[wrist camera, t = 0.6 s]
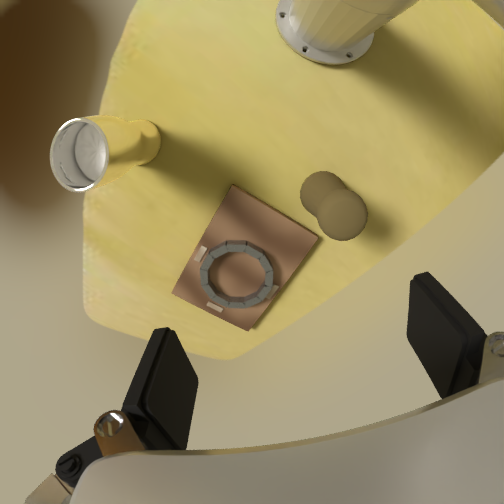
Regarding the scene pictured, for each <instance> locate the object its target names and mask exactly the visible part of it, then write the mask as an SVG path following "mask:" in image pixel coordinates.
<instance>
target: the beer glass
mask: <svg viewBox="0 0 504 504" xmlns="http://www.w3.org/2000/svg"><path fill="white" fill-rule="evenodd" d="M160 145H161V137H160V133H159V131H158V129H157V127H156V126H155V125H154V124H153V123H151V122H150V121H147V120H143V119H138V120H134V121H131V122H129V121H127V120H125V119H122V118H119V117H115V116H109V115H96V116H88V117H83V118H75V119H72V120H70V121H68V122H67V123H65V124H64V125H63V126H62V127H61V128H60V129H59V130H58V131H57V133H56V135H55V137H54V139H53V142H52V145H51V150H50V163H51V168H52V171H53V174H54V176H55V178H56V179H57V180H58V182H59V183H60V184H61V185H62V186H63V187H64V188H66V189H67V190H70V191H72V192H86V191H88V190H91V189H94V188H97V187H100V186H103V185H106V184H108V183H111V182H113V181H115V180H117V179H118V178H120V177H122V176H123V175H124V174H125V173H127V172H128V171H129V170H130V169H131V168H132V167H133V166H134V165H143V164H146V163H148V162H150V161H151V160H152V159H154V157H155V156H156V155H157V153H158V151H159V149H160Z"/></svg>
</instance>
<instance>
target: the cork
mask: <svg viewBox="0 0 504 504" xmlns="http://www.w3.org/2000/svg"><path fill="white" fill-rule="evenodd" d="M300 198H301V201H302V204H303V206H304V207H305V209H306V210H307V211H308V212H310V213H311V214H312V215H314V216H315V217H316V218H317V220H318V223H319V226H320V228H321V229H322V231H323V232H324V233H325V234H326V235H327V236H329V237H330V238H332V239H335V240H339V241H347V240H350V239H353V238H355V237H356V236H357V235H359V234H360V233H361V232H362V230H363V229H364V228H365V225H366V223H367V217H368V212H367V208H366V205H365V203H364V201H363V200H362V198H361V197H360V196H359V195H357V194H356V193H355V192H353V191H350V190H347V189H346V187H345V186H344V184H343V183H342V181H341V180H340V178H339V177H337V176H336V175H335V174H333V173H330V172H327V171H320V172H316V173H313V174H312V175H310V176H309V177H308V178H307V179H306V180H305V181H304V183H303V184H302V187H301V190H300Z"/></svg>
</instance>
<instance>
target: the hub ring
mask: <svg viewBox="0 0 504 504" xmlns="http://www.w3.org/2000/svg"><path fill="white" fill-rule="evenodd" d="M227 252H245V253H247V254H249V255H250V256H252V257H254V258H256V259H258V260H259V262H260V264H261V265H262V267H263V269H264V270H265V280H264V282H263V283H262V285H261V286H260V287H259V289H258V290H257V291H256V292H254V293H252V294H249V295H247V296H245V297H234V296H228V295H226V294H224V293H222V292H221V291H219V290H217V289H216V287H215V286H214V284H213V283H212V281H211V280H210V275H209V267H210V266H211V264H212V262H213V261H214V259H215V258H217V257H219V256H221V255H223V254H225V253H227ZM200 279H201V285H202V288H203V289H204V291H205V292H206V293H207V295H208V296H209V298H210V299H212V301H214V302H216V303H218V304H220V305H222V306H224V307H226V308H227V307H228V308H242V309H245V307H246V308H248V307H251V306H253V305H255V304H257V303H259V302H262V301H263V300H264V298H265V297H266V296H267V294H268V293H269V291H270V290H271V289H272V286H273V265H272V263H271V261H270V260H269V258H268V256H267V254H266V253H265V251H263V249H261V248H260V247H258V246H256V245H254V244H252V243H251V242H249V241H247V242H246V240H228V241H227V240H226V241H224V242H222V243H220V244H218V245H216V246H215V247H213V248H211V249H210V250H209V252H208V254H207V255H206V257H205V259H204V260H203V262H202V264H201V267H200Z"/></svg>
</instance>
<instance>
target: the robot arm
mask: <svg viewBox="0 0 504 504" xmlns="http://www.w3.org/2000/svg"><path fill="white" fill-rule="evenodd" d="M418 1H419V0H280V1H279V3H278V6H277V9H276V24H277V28H278V31H279V33H280V35H281V37H282V38H283V40H284V41H285V42H286V43H287V45H288V46H289V47H291V48H292V49H293V50H294V51H295V52H297V53H298V54H300V55H301V56H303V57H305V58H307V59H309V60H311V61H314V62H318V63H321V64H329V65H340V64H345V63H349V62H351V61H354V60H356V59H358V58H359V57H361V56H362V55H363V54H364V53H365V52H367V50H368V49H369V47H370V46H371V44H372V41H373V39H374V31H376V30H377V29H379V28H380V27H382V26H383V25H384V24H386V23H387V22H389V21H390V20H392V19H393V18H395V17H396V16H398V15H399V14H401V13H402V12H404V11H406V10H407V9H408V8H410V7H411V6H413V5H414V4H416V3H417V2H418ZM472 1H473V2H474V3H476V4H477V5H478V6H479V7H480V8H482V9H483V10H484V11H485V12H486V13H487V14H488V15H490V16H491V17H492V18H493V19H494V20H495V21H496V22H497V23H499V24H500V25H501V26H502V27H503V28H504V0H472ZM280 16H284V18H282V17H280ZM303 49H305V50H306V52H303ZM346 55H348V56H349V58H348V57H347V56H346ZM407 338H408V341H409V343H410V344H411V346H412V348H413V349H414V351H415V353H416V354H417V356H418V358H419V360H420V361H421V363H422V365H423V366H424V368H425V370H426V372H427V373H428V375H429V377H430V378H431V381H432V382H433V384H434V386H435V388H436V389H437V391H438V393H439V395H440V397H441V398H442V400H439V401H436V402H434V403H431V404H429V405H426V406H423V407H421V408H418V409H415V410H413V411H410V412H407V413H404V414H402V415H398V416H395V417H392V418H389V419H386V420H383V421H380V422H376V423H373V424H369V425H366V426H362V427H358V428H354V429H350V430H347V431H342V432H338V433H334V434H329V435H325V436H320V437H315V438H309V439H304V440H298V441H292V442H286V443H279V444H272V445H263V446H255V447H244V448H231V449H212V450H186V448H187V442H188V436H189V431H190V426H191V420H192V415H193V409H194V404H195V399H196V393H197V388H198V377H197V375H196V373H195V371H194V369H193V367H192V365H191V363H190V361H189V359H188V357H187V355H186V353H185V351H184V349H183V347H182V345H181V343H180V341H179V339H178V337H177V334H176V332H175V331H174V330H171V329H170V328H168V327H166V328H159V329H155V330H154V331H153V333H152V335H151V338H150V340H149V342H148V345H147V347H146V349H145V351H144V354H143V356H142V358H141V361H140V363H139V366H138V368H137V370H136V373H135V375H134V378H133V380H132V382H131V385H130V387H129V390H128V392H127V395H126V397H125V400H124V402H123V407H122V409H121V411H119V410H111V411H108V412H105V413H104V414H102V415H101V416H100V417H99V418H98V419H97V421H96V422H95V424H94V429H93V430H94V434H95V436H93V437H92V438H90V439H88V440H86V441H85V442H83V443H82V444H80V445H78V446H77V447H75V448H73V449H72V450H70V451H68V452H67V453H65V454H63V456H61V457H60V458H59V460H58V461H57V464H56V469H55V470H56V474H55V475H54V474H52V473H51V474H50V475H49V476H48V477H47V478H46V479H45V480H44V481H43V482H42V484H40V485H39V486H38V487H37V488H36V489H35V490H34V491H33V492H32V493H31V494H30V495H29V496H28V497H27V499H26V500H25V504H504V332H494V333H492V334H490V335H489V336H487V335H486V334H485V332H484V330H483V329H482V328H481V327H480V326H479V325H478V323H477V322H476V321H475V320H474V319H473V318H472V317H471V316H470V315H469V313H468V312H467V311H466V310H465V309H464V308H463V307H462V306H461V305H460V304H459V303H458V302H457V301H456V299H454V297H453V296H452V295H451V294H450V293H449V292H448V291H447V290H446V289H445V288H444V287H443V286H442V285H441V284H440V283H439V282H438V281H437V280H436V279H435V278H434V277H433V276H432V275H431V274H430V273H429V272H424V273H421V274H417V275H415V276H414V278H413V280H411V281H410V295H409V312H408V325H407Z"/></svg>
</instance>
